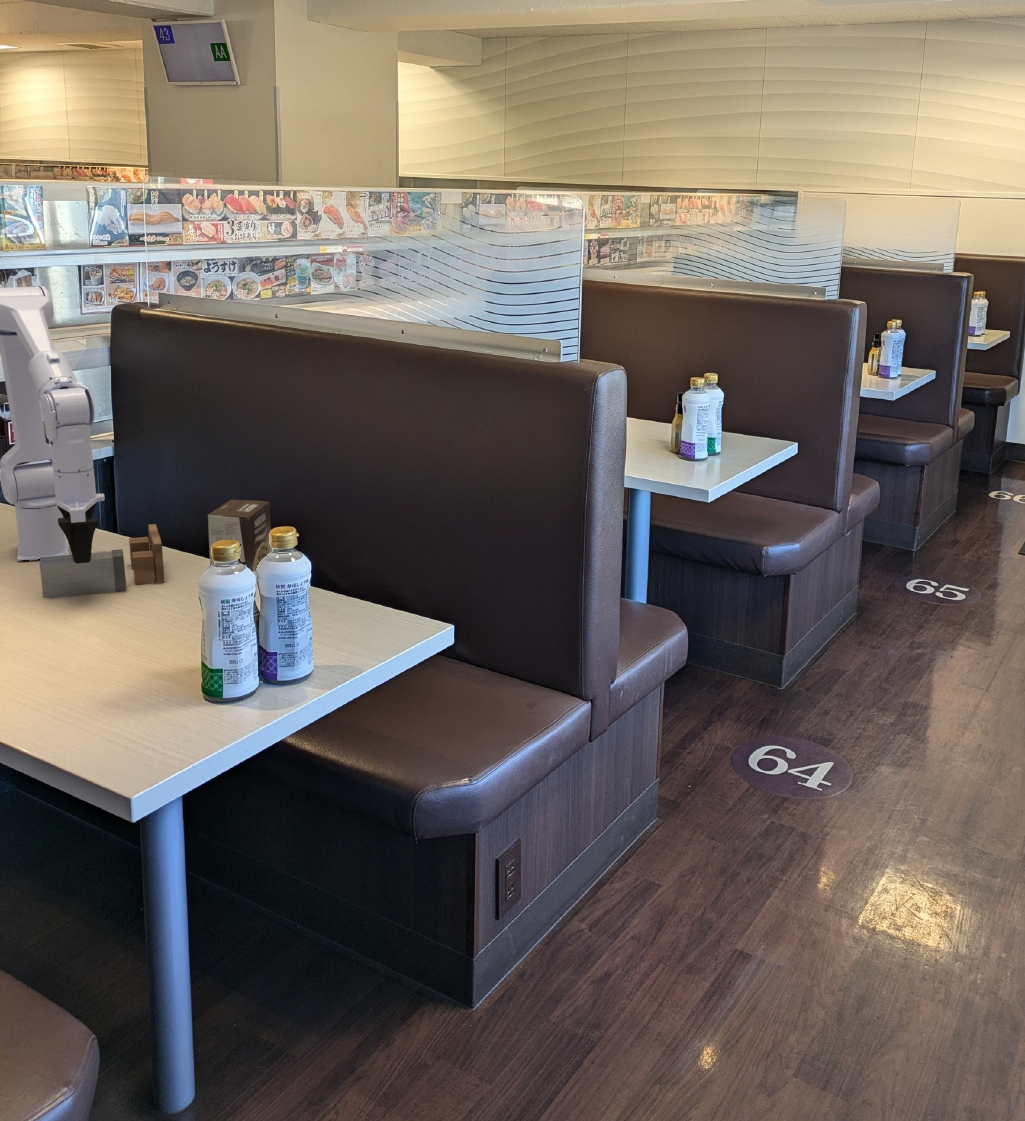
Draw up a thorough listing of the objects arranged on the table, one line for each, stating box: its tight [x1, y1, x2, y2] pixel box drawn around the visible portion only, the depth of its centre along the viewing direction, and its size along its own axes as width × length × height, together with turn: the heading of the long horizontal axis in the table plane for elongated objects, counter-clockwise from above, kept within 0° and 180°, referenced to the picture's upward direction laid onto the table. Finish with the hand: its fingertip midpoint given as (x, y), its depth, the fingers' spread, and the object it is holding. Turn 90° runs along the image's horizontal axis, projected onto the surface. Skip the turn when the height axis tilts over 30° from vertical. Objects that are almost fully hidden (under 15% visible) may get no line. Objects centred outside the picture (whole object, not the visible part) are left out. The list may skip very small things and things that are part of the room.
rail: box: [39, 548, 127, 599], centre depth 173 cm, size 4×12×6 cm, turn 112°
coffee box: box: [207, 499, 272, 571], centre depth 166 cm, size 9×6×16 cm
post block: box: [128, 523, 166, 585], centre depth 182 cm, size 11×4×6 cm, turn 22°
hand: (81, 554), depth 172 cm, fingers open, 7 cm apart
